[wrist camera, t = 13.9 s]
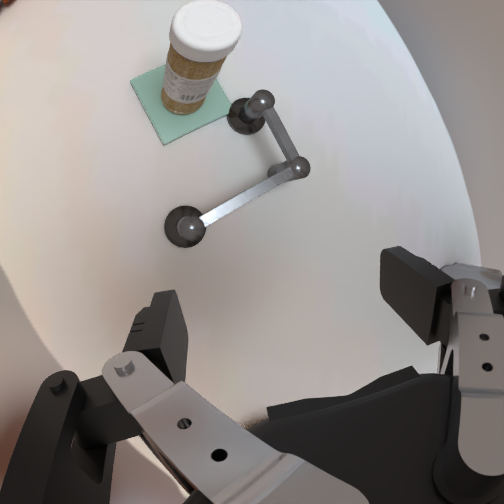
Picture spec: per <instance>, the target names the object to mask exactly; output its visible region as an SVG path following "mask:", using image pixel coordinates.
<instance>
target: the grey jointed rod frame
mask: <svg viewBox="0 0 504 504" xmlns="http://www.w3.org/2000/svg"><path fill="white" fill-rule="evenodd" d="M274 104H275V99H274V96H273V95H272V93H271V92H269V91H267V90H259V91H257V92H256V93H255V94H254V95H253V96H252V97H251V98H241V99H238V100H236V101H235V102H234V103H233V104H232V105H231V106H232V107H230V109H229V112H230V113H229V114H228V115H227V119H228V122H229V124H230V126H231V127H232V128H233V129H234V130H235V131H236V132H238V133H240V134H244V135H250V134H254V133H256V132H257V131H259V130H260V129H261V128H262V127H263V126H264V124H265V120H266V122H267V124H268V126H269V128H270V129H271V131H272V133H273V135H274V137H275V139H276V141H277V143H278V144H279V146H280V148H281V150H282V152H283V154H284V156H285V158H286V160H287V161H285V162H282V163H279V164H277V165H274V166H272V167H271V168H270V169H269V171H268V178H267V179H265V180H264V181H262V182H260V183H258V184H256V185H254V186H253V187H251V188H249V189H247V190H245V191H244V192H242V193H240V194H238V195H236V196H235V197H233V198H231V199H229V200H227V201H226V202H224V203H222V204H220V205H219V206H217V207H215V208H213V209H212V210H210V211H208V212H207V213H205V214H203V215H202V213H201V212H200V211H199V210H197V209H196V208H194V207H191V206H180V207H177V208H175V209H174V210H172V211H171V212H170V213H169V214H168V216H167V218H166V220H165V233H166V236H167V237H168V239H169V240H170V241H171V242H172V243H173V244H174V245H176V246H179V247H183V248H188V247H192V246H194V245H196V244H198V243H199V242H200V241H201V240H202V238H203V237H204V235H205V232H206V226H208V225H210V224H211V223H213V222H215V221H216V220H218V219H220V218H221V217H223V216H225V215H227V214H228V213H230V212H232V211H234V210H235V209H237V208H239V207H240V206H242V205H244V204H246V203H247V202H249V201H251V200H253V199H254V198H256V197H258V196H260V195H262V194H263V193H265V192H267V191H269V190H270V189H272V188H274V187H276V186H278V185H279V184H281V183H284V182H288V181H292V180H297V179H301V178H305V177H307V176H308V174H309V173H310V164H309V162H308V160H307V159H305V158H304V157H300V156H299V154H298V152H297V150H296V148H295V146H294V144H293V142H292V141H291V139H290V137H289V135H288V133H287V131H286V129H285V127H284V125H283V124H282V122H281V120H280V118H279V116H278V114H277V113H276V111H275V109H274V107H273V106H274ZM232 111H233V112H232Z"/></svg>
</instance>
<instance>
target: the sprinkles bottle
mask: <svg viewBox="0 0 504 504" xmlns="http://www.w3.org/2000/svg"><path fill="white" fill-rule="evenodd" d="M242 29H243V26H242V21H241V18H240V17H239V15H238V14H237V12H236V11H235V10H234V9H232V8H231V7H230V6H228V5H226V4H224V3H222V2H219V1H215V0H196V1H192V2H189V3H187V4H185V5H184V6H182V7H181V8H180V9H179V10H178V11H177V12H176V13H175V15H174V17H173V19H172V23H171V27H170V33H169V38H170V48H169V51H168V55H167V61H166V68H165V74H164V80H163V88H162V91H161V100H162V102H163V105H164V106H165V107H166V108H167V109H168V110H169V111H171V112H173V113H175V114H179V115H185V114H191V113H193V112H195V111H197V110H198V109H199V108H200V107H201V106H202V105H203V103H204V101H205V98H206V95H207V94H208V92H209V90H210V89H211V87H212V85H213V83H214V81H215V79H216V77H217V75H218V74H219V72H220V69H221V67H222V64H223V62H224V61H225V59H226V57H227V55H229V54H230V53H231V52H232V51H233V49H234V48H235V46H236V44H237V42H238V40H239V38H240V36H241V34H242Z"/></svg>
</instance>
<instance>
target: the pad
mask: <svg viewBox="0 0 504 504" xmlns="http://www.w3.org/2000/svg"><path fill="white" fill-rule="evenodd" d="M165 68H166V64H165V65H163V66H161V67H158V68H156V69H154V70H152V71H149V72H147V73H145V74H143V75H140V76H138V77H136V78H134V79H132V80H130V83H131V85H132V87H133V89H134V90H135V92H136V94H137V96H138V98H139V100H140V102H141V104H142V106H143V108H144V110H145V111H146V113H147V115H148V117H149V119H150V121H151V123H152V125H153V127H154V128H155V130H156V132H157V134H158V136H159V138H160V140H161V142H162V143H163V145H164V146H165V145H167V144H168V143H170V142H172V141H174V140H176V139H178V138H180V137H182V136H184V135H186V134H188V133H190V132H192V131H194V130H196V129H198V128H200V127H203V126H205V125H207V124H209V123H211V122H213V121H215V120H218V119H220V118H222V117H224V116H226V115H228V114H229V113H230V112H229V109H230V107H232V106H231V103H230V101H229V100H228V98H227V96H226V94H225V93H224V91H223V89H222V87H221V86H220V84H219V82H218V80H217V79H215V81H214V83H213V85H212V87H211V89H210V90H209V92H208V94H207V95H206V98H205V101H204V103H203V105H202V106H201V107H200V108H199V109H198V110H197V111H195V112H193V113H191V114H185V115H179V114H175V113H173V112H171V111H169V110H168V109H167V108H166V107H165V106H164V105H163V102H162V100H161V91H162V88H163V80H164V74H165ZM232 112H233V111H232Z"/></svg>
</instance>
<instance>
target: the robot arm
mask: <svg viewBox="0 0 504 504" xmlns="http://www.w3.org/2000/svg"><path fill="white" fill-rule="evenodd" d="M380 291H381V295H382V297H383V299H384V300H385V301H386V302H387V303H388V304H389V305H390V307H391V308H392V309H393V310H394V311H395V312H396V313H397V314H398V315H399V316H400V317H401V318H402V319H403V320H404V321H405V322H406V323H407V324H408V325H409V326H410V327H411V329H412V330H413V331H414V332H415V333H416V334H417V335H418V336H419V337H420V338H421V339H422V340H423V341H424V343H425V344H426V345H429V344H432V343H434V342H437V341H440V342H441V343H440V347H439V354H438V367H437V374H434V373H428V374H418V373H417V371H416V370H415V369H414V368H413V366H409V367H407V368H404V369H401V370H399V371H396V372H393V373H390V374H387V375H385V376H382V377H380V378H378V379H376V380H375V381H373V382H371V383H369V384H368V385H366V386H364V387H363V388H361V389H359V390H357V391H355V392H354V393H352V394H350V395H346V396H337V397H324V398H308V399H302V400H298V401H294V402H289V403H285V404H280V405H275V406H270V407H267V412H268V417H269V418H268V419H266V420H263V421H261V422H259V423H257V424H255V425H254V426H252V427H250V428H249V429H247V430H246V429H244V428H243V427H242V426H240V425H239V424H237V423H236V422H235V421H233V420H232V419H231V418H229V417H228V416H227V415H225V414H224V413H223V412H221V411H220V410H219V409H217V408H216V407H215V406H214V405H212V404H211V403H210V402H208V401H207V400H206V399H205V398H203V397H202V396H201V395H200V394H199V393H197V392H196V391H195V390H194V389H192V388H191V387H190V386H189V385H188V384H186V383H185V375H186V362H187V350H188V332H187V327H186V324H185V320H184V317H183V314H182V310H181V307H180V304H179V300H178V297H177V294H176V291H175V290H168V291H162V292H156V293H154V296H153V299H152V302H151V305H150V307H144V308H143V309H142V310H141V311H140V312H139V313H138V314H137V315H136V316H135V319H134V322H133V326H132V327H131V330H130V333H129V335H128V338H127V340H126V343H125V346H124V349H123V352H122V353H119V354H117V355H115V356H113V357H112V358H110V359H109V360H108V361H107V362H106V363H105V364H104V366H103V369H102V375H101V376H98V377H95V378H91V379H88V380H85V381H81V382H80V380H79V379H78V377H77V375H76V374H75V373H74V372H72V371H68V370H64V371H59V372H56V373H54V374H52V375H51V376H49V377H48V378H46V379H45V381H44V382H43V383H42V385H41V386H40V389H39V391H38V393H37V395H36V397H35V399H34V402H33V404H32V406H31V409H30V411H29V413H28V416H27V418H26V420H25V423H24V425H23V428H22V430H21V433H20V435H19V438H18V441H17V443H16V446H15V448H14V451H13V454H12V457H11V459H10V463H9V465H8V468H7V472H6V475H5V477H4V481H3V484H2V487H1V491H0V504H109V501H110V491H111V481H112V472H113V464H114V456H115V449H116V442H118V441H121V440H125V439H128V438H131V437H135V436H138V435H139V436H140V438H141V439H142V440H143V441H144V443H145V444H146V445H147V446H148V448H149V449H150V450H151V451H152V452H153V454H154V455H155V456H156V457H157V458H158V460H159V461H160V462H161V463H162V464H163V465H164V466H165V468H166V469H167V470H168V471H169V472H170V473H171V474H172V476H173V477H174V478H175V479H176V480H177V482H178V483H179V484H180V485H181V486H182V487H183V488H184V489H185V490H186V492H187V493H188V494H189V495H190V496H189V497H188V498H187V500H186V501H185V502H184V503H183V504H504V275H502V273H501V271H500V270H495V269H490V268H484V267H478V266H473V265H467V264H461V263H455V264H454V265H447V266H445V267H443V268H442V269H441V270H440V269H438V268H437V267H436V266H434V265H432V264H431V263H430V262H428V261H427V260H425V259H424V258H421V257H418V256H415V255H413V254H412V253H410V252H409V251H407V250H406V249H404V248H403V247H401V246H396V247H392V248H387V249H383V250H382V252H381V256H380ZM72 440H73V443H72ZM71 444H72V447H71Z"/></svg>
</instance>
